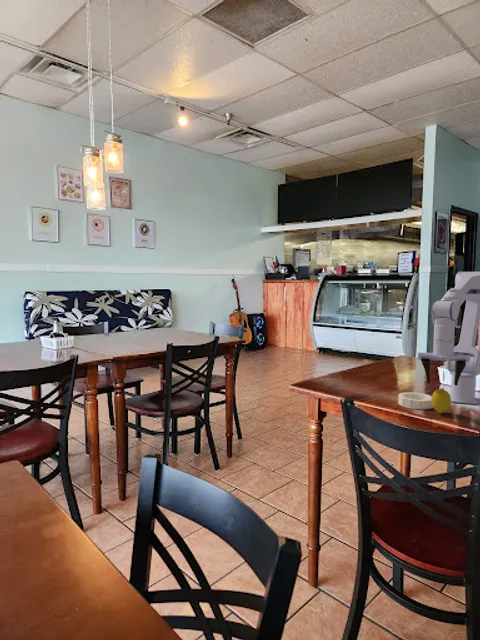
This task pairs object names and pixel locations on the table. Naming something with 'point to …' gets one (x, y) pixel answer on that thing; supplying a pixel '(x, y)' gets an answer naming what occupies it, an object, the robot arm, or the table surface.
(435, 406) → the lemon
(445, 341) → the robot arm
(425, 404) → the ring dish
